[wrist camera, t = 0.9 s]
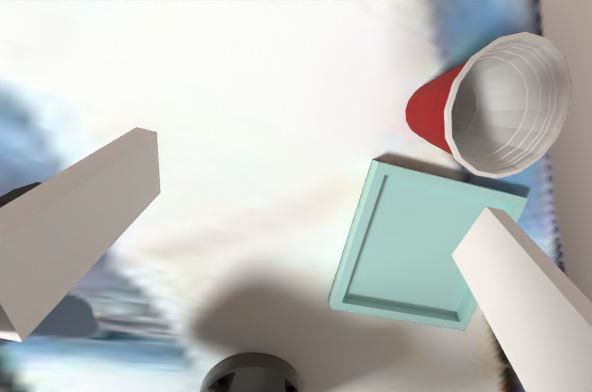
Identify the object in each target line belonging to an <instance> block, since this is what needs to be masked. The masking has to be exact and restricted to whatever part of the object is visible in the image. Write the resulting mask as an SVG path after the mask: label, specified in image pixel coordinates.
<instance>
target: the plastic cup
mask: <svg viewBox="0 0 592 392" xmlns="http://www.w3.org/2000/svg"><path fill="white" fill-rule="evenodd" d="M571 87H572V80H571V77H570V73H569V69H568V66H567V62H566V59H565V56H564V55H563V54H562V53H561V52H560V51H559V50H558V48H557V47H556V46H555V45H554V44H553V43H552V42H551V41H550V39H548V38H545V37H541V36H538V35H535V34H532V33H529V32H522V33H517V34H512V35H507V36H502V37H499V38H497V39H496V40H494V41H493V42H491V43H490V44H489V45H487V46H486V47H484V48H483V49H482V50H480V51H479V52H477V53H476V54H475V55H473V56H472V57H470V59H469V60H468V61H467V62H465V63H464V64H462V65H460V66H458V67H456V68H454V69H452V70H450V71H449V72H447V73H445V74H443V75H441V76H439V77H437V78H436V79H434V80H433V81H431V82H429V83H427V84H425V85H424V86H422V87H421V88H420V89H418V90H417V91H416V92H415V93H414V94H413V95H412V97H411V98H410V100H409V101H408V104H407V108H406V121H407V123H408V125H409V127H410V129H411V130H412V131H413V132H415V133H416V134H417V135H419V136H420V137H422V138H424V139H425V140H427V141H428V142H429V143H431V144H433V145H435V146H437V147H439V148H440V149H442V150H444V151H446V152H448V153H450V154H451V155H453V156H454V158H455V160H457V161H458V162H459V163H461V164H462V165H463V166H464V167H466V168H467V169H468V170H470V171H471V172H472V173H473V174H475V175H479V176H485V177H490V178H496V179H497V178H501V177H505V176H509V175H513V174H517V173H520V172H521V171H523V170H524V169H526V168H527V167H529V166H530V165H532V164H533V163H535V162H536V161H537V160H539V159H540V158H542V156H543V155H544V154H545V152H546V151H547V150H548V149H549V147H550V146H551V145H552V144H553V142H554V141H555V140H556V139H557V137H558V136H559V134H560V131H561V129H562V126H563V124H564V122H565V119H566V117H567V114H568V112H569V109H570V98H571Z"/></svg>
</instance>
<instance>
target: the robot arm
mask: <svg viewBox="0 0 592 392" xmlns="http://www.w3.org/2000/svg"><path fill="white" fill-rule="evenodd" d="M159 193H160V177H159V161H158V144H157V132H155V131H150V130H146V129H141V128H137V127H136V128H135V129H133V130H131V131H129V132H128V133H126V134H124V135H123V136H121V137H119V138H118V139H116V140H114V141H113V142H111V143H109V144H107V145H106V146H104V147H102V148H101V149H99V150H97V151H96V152H94V153H92V154H91V155H89V156H87V157H86V158H84V159H82V160H80V161H79V162H77V163H75V164H74V165H72V166H70V167H69V168H67V169H65V170H64V171H62V172H60V173H58V174H57V175H55V176H53V177H52V178H50V179H48V180H47V181H45V182H43V183H39V182H36V183H33V184H30V185H27V186H24V187H20V188H17V189H14V190H12V191H10V192H9V193H7V194H5V195H3V196H1V197H0V338H4V339H9V340H15V341H20V342H23V341H24V340H25V339H26V338H27V336H28V335H29V334H30V333H31V332H32V331H33V330H34V329H35V328H36V327H37V326H38V324H39V323H40V322H41V321H42V320H43V319H44V318H45V317H46V316H47V315H48V314H49V313H50V311H51V310H52V309H53V308H54V307H55V306H56V305H57V304H58V303H59V302H60V301H61V300H62V299H63V297H64V296H65V295H66V294H67V293H68V292H69V291H70V290H71V289H72V288H73V287H74V286H75V284H76V283H77V282H78V281H79V280H80V279H81V278H82V277H83V276H84V275H85V274H86V273H87V271H88V270H89V269H90V268H91V267H92V266H93V265H94V264H95V263H96V262H97V261H98V260H99V258H100V257H101V256H102V255H103V254H104V253H105V252H106V251H107V250H108V249H109V248H110V247H111V245H112V244H113V243H114V242H115V241H116V240H117V239H118V238H119V237H120V236H121V235H122V234H123V232H124V231H125V230H126V229H127V228H128V227H129V226H130V225H131V224H132V223H133V222H134V221H135V219H136V218H137V217H138V216H139V215H140V214H141V213H142V212H143V211H144V210H145V209H146V208H147V206H148V205H149V204H150V203H151V202H152V201H153V200H154V199H155V198H156V197H157V196H158V195H159ZM452 257H453V259H454V261H455V263H456V264H457V266H458V268H459V270H460V272H461V274H462V275H463V277H464V279H465V281H466V283H467V285H468V286H469V288H470V290H471V292H472V294H473V296H474V297H475V299H476V301H477V303H478V305H479V307H480V308H481V310H482V312H483V314H484V316H485V318H486V319H487V321H488V323H489V325H490V327H491V329H492V330H493V332H494V334H495V336H496V338H497V340H498V341H499V343H500V345H501V347H502V349H503V351H504V352H505V354H506V356H507V358H508V360H509V362H510V363H511V365H512V367H513V369H514V371H515V373H516V374H517V376H518V378H519V380H520V382H521V384H522V385H523V387H524V389H525V391H526V392H592V303H591V301H590V300H589V299H588V298H587V297H586V296H585V295H584V294H583V293H582V292H581V291H580V290H579V289H578V288H577V287H576V286H575V285H574V284H573V282H572V281H571V280H570V279H569V278H568V277H567V276H566V275H565V274H564V273H563V272H562V271H561V270H560V269H559V268H558V267H557V266H556V264H555V263H554V262H553V261H552V260H551V259H550V258H549V257H548V256H547V255H546V254H545V253H544V252H543V251H542V250H541V249H540V248H539V247H538V245H537V244H536V243H535V242H534V241H533V240H532V239H531V238H530V237H529V236H528V235H527V234H526V233H525V232H524V231H523V230H522V229H521V228H520V226H519V225H518V224H517V223H516V222H515V221H514V220H513V219H512V218H511V217H510V216H509V215H508V214H507V213H506V212H505V211H504V210H501V209H496V208H492V207H487V206H486V207H485V208H484V210H483V211H482V213H481V214H480V216H479V217H478V218H477V220H476V221H475V223H474V224H473V226H472V227H471V228H470V230H469V231H468V233H467V234H466V235H465V237H464V238H463V240H462V241H461V243H460V244H459V245H458V247H457V248H456V250H455V251H454V252H453V254H452ZM200 392H302V387H301V382H300V379H299V377H298V375H297V373H296V372H295V371H294V369H293V368H292V367H291V366H290V365H288V364H287V363H286V362H284V361H282V360H280V359H278V358H276V357H273V356H270V355H265V354H255V353H253V354H242V355H237V356H234V357H231V358H228V359H226V360H224V361H222V362H220V363H219V364H217V365H216V366H215V367H214V368H213V369H211V370H210V372H209V373H208V374H207V375H206V377H205V379H204V380H203V383H202V386H201V390H200Z"/></svg>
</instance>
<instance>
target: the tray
mask: <svg viewBox="0 0 592 392" xmlns="http://www.w3.org/2000/svg"><path fill="white" fill-rule="evenodd" d="M527 201H528V198H525V197H522V196H519V195H516V194H512V193H508V192H504V191H500V190H496V189H492V188H487V187H483V186H479V185H475V184H471V183H467V182H463V181H459V180H455V179H451V178H446V177H442V176H438V175H434V174H430V173H426V172H422V171H418V170H414V169H409V168H405V167H401V166H397V165H393V164H389V163H385V162H381V161H377V160H373V159H372V162H371V165H370V169H369V172H368V175H367V178H366V181H365V184H364V187H363V191H362V194H361V197H360V200H359V203H358V206H357V209H356V213H355V216H354V219H353V222H352V225H351V228H350V231H349V235H348V238H347V241H346V244H345V247H344V250H343V253H342V257H341V260H340V263H339V266H338V269H337V272H336V275H335V279H334V282H333V285H332V288H331V291H330V294H329V297H328V302H329V305H330V309H333V310H339V311H345V312H352V313H358V314H364V315H370V316H377V317H383V318H389V319H395V320H402V321H408V322H414V323H420V324H427V325H433V326H439V327H445V328H452V329H458V330H464V331H465V329H466V327H467V325H468V323H469V321H470V319H471V317H472V315H473V313H474V311H475V309H476V307H477V304H478V303H477V301H476V299H475V297H474V296H473V294H472V292H471V290H470V288H469V286H468V285H467V283H466V281H465V279H464V277H463V275H462V274H461V272H460V270H459V268H458V266H457V264H456V263H455V261H454V259H453V257H452V254H453V252H454V251H455V250H456V248H457V247H458V245H459V244H460V243H461V241H462V240H463V238H464V237H465V235H466V234H467V233H468V231H469V230H470V228H471V227H472V226H473V224H474V223H475V221H476V220H477V218H478V217H479V216H480V214H481V213H482V211H483V210H484V208H485V207H486V206H487V207H492V208H496V209H501V210H504V211H505V212H506V213H507V214H508V215H509V216H510V217H511V218H512V219H513V220H514V221H515V222H516V223H517V221H518V219H519V217H520V215H521V213H522V211H523V209H524V207H525V205H526V203H527Z"/></svg>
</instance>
